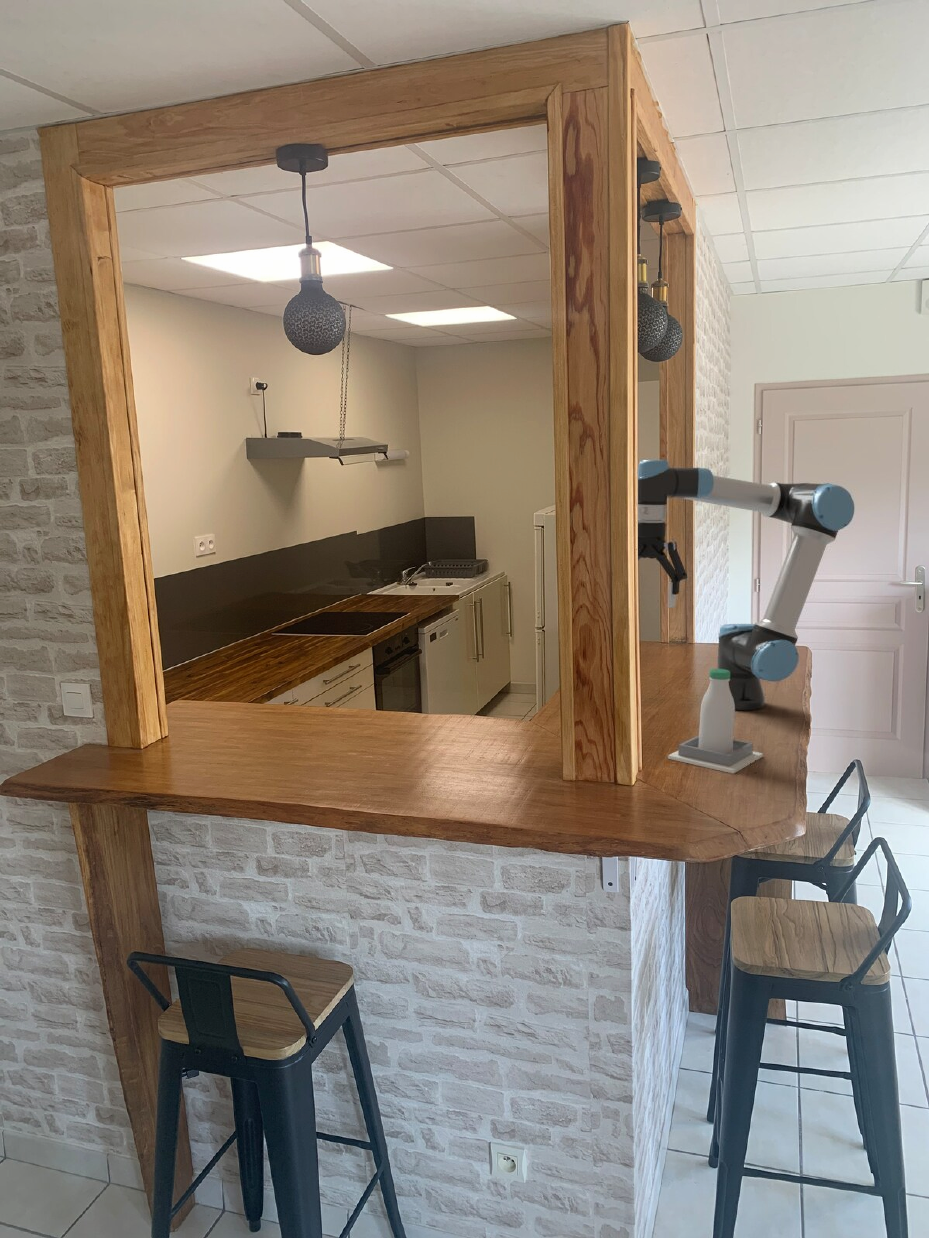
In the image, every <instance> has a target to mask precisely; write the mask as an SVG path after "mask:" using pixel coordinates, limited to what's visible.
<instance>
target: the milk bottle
mask: <svg viewBox="0 0 929 1238" xmlns="http://www.w3.org/2000/svg"><path fill="white" fill-rule="evenodd" d="M729 681H730V671H729V670H725V669H717V668H712V669H710V670H709V685H708V688H707V690H706V692H705V693H704V695H703V697H702V700H701V705H700V714H699V715H700V716H699V728H698V731H699V732H698V735H699V746H698V748H701V749H706V750H710V751H715V752H719V753H724V754H730V753H732V752H733V739H734V736H735V718H736V716H735V714H736V713H735V711H736V710H735V704H734V700H733V697H732V694H731V692H730V688H729Z"/></svg>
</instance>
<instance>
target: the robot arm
mask: <svg viewBox="0 0 929 1238" xmlns="http://www.w3.org/2000/svg"><path fill="white" fill-rule="evenodd" d="M669 465H670V464H669V461H668V460H666V459H642V460H640V461H639V463H638V467H637V474H638V520H637V522H638V561H639V560H640V559H646V558H648V559H652V560H653V559H655V560H656V561H658V562H659V564H660V565H661V567H662V568H663V570H664V571H665V573H666V574H667V576H668V577H669V579H670V581H668V587H667V589H668V591H667V592H668V593H667V608H670V609H671V608H675V607H676V601H677V600H676V599H677V595H679V593H680V582H681V581H684V580H687V578H688V574H687V572H686V570H685V567H684V564H683V563H682V560H681V557H680V555H679V552H678V546H677V545H678V543H677V542H676V541H669V542H666V539H665V538H666V531H667V530H666V529H667V524H666V522H664V521H666V520H667V504H668V499H670V498H671V499H672V498H676V499H684V500H689V501H694V502H700V503H704V504H705V503H706V504H712V505H718V506H722V507H723V506H725V507H729V508H730V507H731V508H734V509H741V510H747V511H751V512H752V511H753V512H759V513H760V514H761V515H762V516H763V517H766V518H772V519H775V520H779V521H782V522H786V523H789V524H790V529H791V530H792V533H793V536H792V540H791V543H790V545H789V548H788V550H787V553H786V556H785V558H784V562H783V564H782V566H781V570H780V572H779V574H778V577H777V580H776V583H775V584H774V588H773V591H772V594H771V597H770V599H769V601H768V605H767V607H766V609H765V612H764V615H763V618H762V619H761V620H759V621H757V622H755V623H730V624H729V623H728V624H723V625H722V626H720V628H719V633H718V638H717V639H718V649H717V650H718V652H717V668H716V669H725V670H729V671H730V681H729V688H730V692H731V694H732V697H733V700H734V704H735V711H736V710H737V711H752V710H760V709H762V708H764V707H765V704H766V701H765V700H766V699H765V698H766V697H765V694H764V690H763V686H762V683H761V680H762V681H767V682H773V683H774V682H781V681H783V680H785V679H787V678H789V677H791V675H792V674H793V673H794V672H795V671H796V669H797V666H798V664H799V660H800V659H799V657H800V656H799V653H798V648H797V647H796V645H797V642H798V640H799V637H798V634H797V633H796V628H797V625H798V622H799V619H800V617H801V614H802V612H803V608H804V606H805V603H806V600H807V598H808V596H809V593H810V590H811V587H812V585H813V583H814V579H815V577H816V574H817V571H818V569H819V566H820V563H821V560H822V558H823V555H824V553H825V550H826V547H827V545H828V544H830V543H832V542H834V541H836V538H837V535H838V532H839V531H840V530H842V529H845V528H846V527H848V526H849V525H850V523H851V522H852V520H853V518H854V515H855V502H854V499H853V498H852V495H851V493H850V492H849V491H848V490H847V489H846V488H845V487H843V486H841V485H838V484H832V483H828V482H827V483H808V482H802V483H801V482H798V483H780V482H776V481H770V482H769V483H767V484H763V483H758V482H752V481H747V480H741V479H735V478H732V477H731V478H730V477H729V478H728V477H724V476H719V475H714V474H713V472H712V471H711V470H710V469H709V468H708V467H707V468H705V467H670V466H669ZM665 549H666V550H667V552H668V555H669V559H670V560H671V562H670V560H669V559H668V556H667V554H666V552H664V550H665Z"/></svg>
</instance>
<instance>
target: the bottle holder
mask: <svg viewBox="0 0 929 1238" xmlns="http://www.w3.org/2000/svg"><path fill="white" fill-rule="evenodd" d="M698 746H699V734H697V735H696V736H694V737H692V738H690V739H688V740H685V741H684V742H681V743H678V750H677V751H674V752H672V753H670V754H668V755H667V759H669V760H672V761H677V762H681V763H686V764H690V765H694V766H697V767H702V768H707V769H711V770H715V771H720V772H724V773H728V774H732V775H734V774H736V773H737V772H739V771H740V770H742V769H745V768H746V767H748V766H749V765H750V763H751V764H752V763H754V762H756V761H758V760H760V759H761V758H763V754H764V753H762V752H758V751H754V743H753V742H749V741H744V740H740V739H734V738H733V752H732V753H730V754H724V753H719V752H715V751H710V750H706V749H701V748H698ZM755 760H756V761H755Z"/></svg>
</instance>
